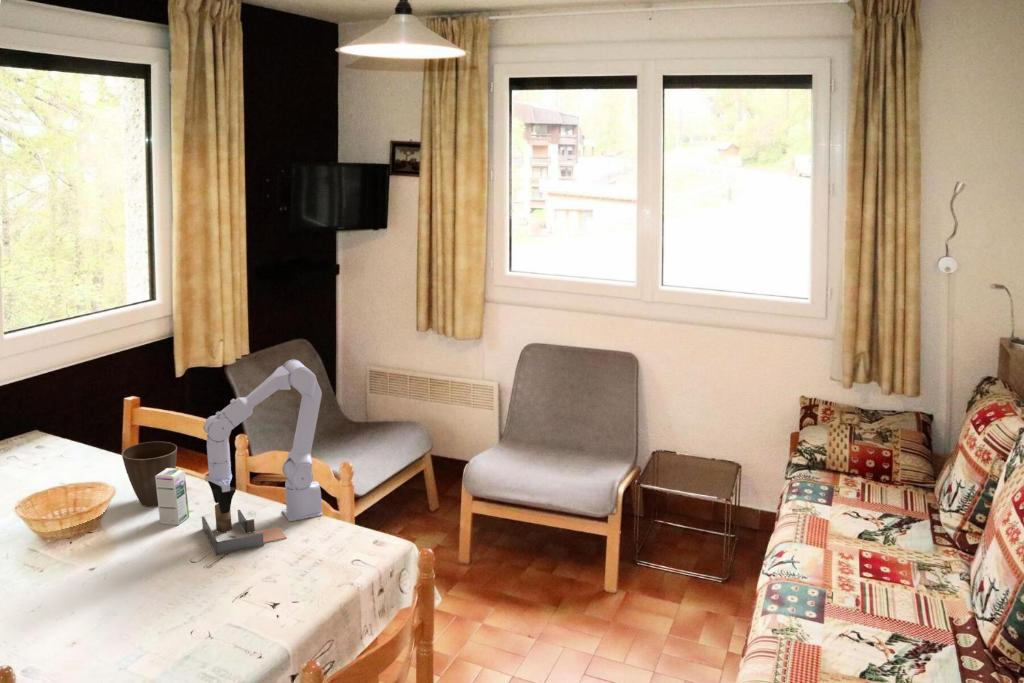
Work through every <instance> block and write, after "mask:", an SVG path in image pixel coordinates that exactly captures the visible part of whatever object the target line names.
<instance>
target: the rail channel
mask: <svg viewBox="0 0 1024 683" xmlns="http://www.w3.org/2000/svg"><path fill="white" fill-rule="evenodd" d="M237 520H238V524H239V523H240V524H239V525H240V527H241V529H242V528H243V529H242V530H243V532H244V533H246V534H249V535H247V536H245V535H244V536H241V537H236V538H230V539H225V540H222V541H221V540H220V541H218V540H217V538H216V537H215V535H214V533H213V531H212V529H211V526H210V525H209V523H208V521H207V519H206V517H205V516H201V522H202V523H201V524H202V525H201V526H202V530H203V532H204V534H205V535H206V537H207V538H206V539H207V540H208V543H209V544H210V546H211V548H212V549H213V551H214V554H215V556H216V557H218V556H222V555H228V554H233V553H237V552H242V551H248V550H253V549H256V548H261V547H260V546H262V547H264V546H265V543H264V542H263V533H259V534H254V531H255V532H256V530H255V528H256V527H255V526H256V525H255V518H251V519H247V518H245V516H244V514H243V513H242V511H241V509H237ZM249 532H251V533H253V534H250V533H249Z"/></svg>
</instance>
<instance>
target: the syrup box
mask: <svg viewBox="0 0 1024 683" xmlns="http://www.w3.org/2000/svg"><path fill="white" fill-rule="evenodd" d="M185 471H186V470H185V469H183V468H166V469H165V470H164V471H162V472H161V473H159V474H158V475H156V476H155V479H156V489H157V498H158V506H157V507H158V513H159V523H160V524H162V525H170V526H179V525H180V524H181V523H183V522H184V521H186V520H187V519H188V518H189V517H190V512H189V510H190V509H189V501H188V493H187V492H188V491H187V490H188V489H187V483H186V482H187V481H186V472H185Z"/></svg>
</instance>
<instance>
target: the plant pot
mask: <svg viewBox="0 0 1024 683" xmlns="http://www.w3.org/2000/svg"><path fill="white" fill-rule="evenodd" d="M177 455H178V446H177V445H176V444H175V443H172V442H169V441H168V442H167V441H146V442H141V443H137V444H134V445H131V446H129V447H127V448H125V449H124V450H122V452H121V456H122V460H123V465H124V469H125V471H126V472H125V473H126V475H127V477H128V479H129V480H128V481H129V482H130V485H131V487H132V489H133V492H134V493H135V496H136V497H137V500H138V501H139V503H140V505H141V506H143V507H147V508H148V507H149V508H151V507H158V498H157V489H156V479H155V476H156V475H158V474H159V473H161V472H162V471H164V470H165V469H166V468H176V466H177V457H178V456H177Z"/></svg>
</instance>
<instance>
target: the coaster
mask: <svg viewBox="0 0 1024 683" xmlns="http://www.w3.org/2000/svg"><path fill="white" fill-rule="evenodd" d="M259 533H263V542H264V544H267V543H271V542H276V541H275V540H277V541H281V540H280V539H282V540H286V538H288V537H287V536H286V534H285V533H284V531H283V530H282V528H281V527H280V526H277V527H273V528H269V529H264V530H262V529H261V530H259V531H255V532H253V535H254V534H259Z"/></svg>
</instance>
